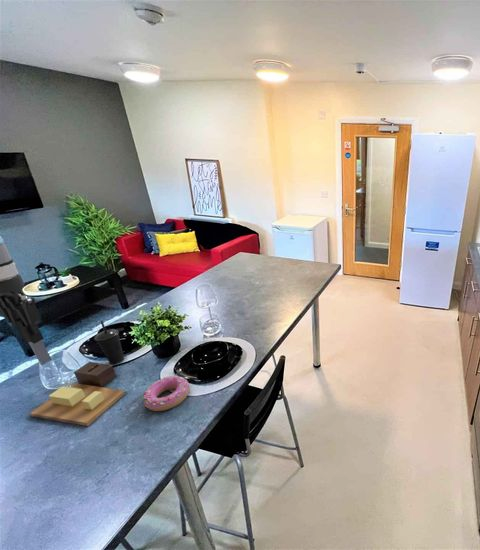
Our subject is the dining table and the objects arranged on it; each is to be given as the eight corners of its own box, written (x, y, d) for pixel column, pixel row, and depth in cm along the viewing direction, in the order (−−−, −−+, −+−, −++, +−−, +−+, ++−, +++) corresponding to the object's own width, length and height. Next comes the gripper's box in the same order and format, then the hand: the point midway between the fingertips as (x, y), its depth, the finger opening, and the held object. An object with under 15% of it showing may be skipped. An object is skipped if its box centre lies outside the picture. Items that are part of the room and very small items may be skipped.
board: (31, 416, 98) (29, 413, 98) (74, 385, 111) (72, 382, 111) (87, 426, 96) (86, 422, 95) (125, 393, 109) (124, 390, 108)
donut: (170, 379, 116) (167, 370, 114) (199, 388, 112) (196, 378, 110) (135, 407, 103) (130, 397, 101) (166, 418, 100) (163, 408, 98)
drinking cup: (128, 352, 129) (114, 314, 121) (127, 362, 124) (113, 323, 115) (106, 358, 125) (90, 319, 117) (104, 369, 120) (87, 329, 111)
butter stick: (52, 403, 102) (48, 395, 100) (66, 393, 106) (62, 385, 104) (72, 406, 101) (68, 399, 99) (85, 396, 105) (82, 389, 104)
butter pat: (85, 408, 100) (81, 401, 99) (98, 398, 105) (94, 390, 103) (91, 409, 100) (88, 402, 99) (104, 399, 104) (101, 391, 103)
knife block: (79, 384, 112) (73, 372, 109) (94, 373, 117) (89, 361, 115) (102, 387, 111) (96, 375, 108) (116, 376, 116) (111, 364, 114)
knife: (38, 365, 100) (15, 321, 93) (48, 359, 103) (26, 316, 95) (44, 365, 100) (20, 322, 92) (53, 360, 103) (31, 317, 95)
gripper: (37, 275, 90) (66, 336, 100) (-4, 270, 92) (28, 331, 102) (7, 285, 84) (41, 350, 93) (-37, 280, 85) (1, 344, 95)
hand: (34, 340), depth 97 cm, fingers closed on knife, 2 cm apart
